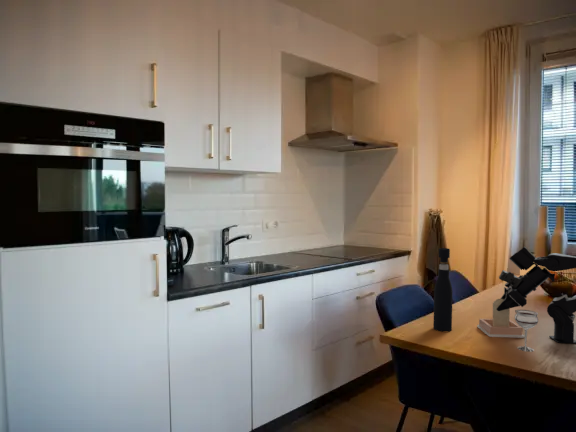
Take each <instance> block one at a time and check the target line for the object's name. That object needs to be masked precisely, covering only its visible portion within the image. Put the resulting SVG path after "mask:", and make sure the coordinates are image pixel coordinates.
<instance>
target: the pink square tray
mask: <svg viewBox="0 0 576 432" xmlns="http://www.w3.org/2000/svg"><path fill="white" fill-rule="evenodd" d="M478 320H479V321H478V324H477V326H476V327H477V328H478V329H479V330H480V331H482V332H483V333H484V334H485V335H487V336H488V337H491V338H519V339H520V338H521V339H525V334H524V333H523V331H524V329H523V327H521V326H519V325H518V324H517V323H516V322H514V321H513V320H511V319H510V318H509V327H499V326H493V318H479V319H478Z"/></svg>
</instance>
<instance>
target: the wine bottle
mask: <svg viewBox="0 0 576 432" xmlns="http://www.w3.org/2000/svg"><path fill="white" fill-rule="evenodd" d="M450 253H451V249H450V248H448V247H445V248H444V247H441V248H438V258H440V261H439V265H438V266H439V267H438V273H437V274H438V275H437V279H436V281H435V285H434V289H433V329H434V330H435V331H437V330H438V332H443V331H448V332H451V331H452V329H453V328H452V326H453V295H454V294H453V287H452V282H451V279H450V269H449V264H448V261H449V260H448V259H450V256H451V255H450Z"/></svg>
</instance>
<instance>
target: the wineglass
mask: <svg viewBox="0 0 576 432" xmlns="http://www.w3.org/2000/svg"><path fill="white" fill-rule="evenodd" d="M514 312H515V314H514V321H515V323H516V324H517V325H519V326H520V327H522V328H523V330H524V335H525V338H524V345H521V346H517V347H516V349H518V350H519V351H523V352H534V351H535V349H534V348H532V347H529V346H527V339H528V338H527V337H528V331H529V330H530V329H533V328H534V327H535V326H537V325H538V323H539V317H538V315H539V313H538V312H537V311H534V310H529V309H515V310H514Z"/></svg>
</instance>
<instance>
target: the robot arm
mask: <svg viewBox="0 0 576 432" xmlns="http://www.w3.org/2000/svg"><path fill="white" fill-rule="evenodd" d="M509 260H510V261H511V262H512V263H513V264H514V265H515V266H516V267H517V268H518V269H519V270H521V271H522V270H524V271H527V272H525V274H523V275H522V274H520V275H519V276H516V275H515V273H512V272H511V271H506V270H504V269H503V270H502V271H501V273H500V275H499V276H498V279H499V280H500V281H502V282H505V284H504V286H505V287H504V288H503V291H504V293H503V294H502V296H501V297H500V298H499V299H503V302H502V303H501V304H500V305H499V306H498V307H497V311H502V310H506V309H509V308H510V309H514V308H517V307H521V308H523V307H525V306H526V305H527V304H528V303H527V301H528V300H527V298H528V295H529V294H531V292H533V291H534V292H535V291H537V288H538V287H540V286H541V285H542V284H543V283H544V282H546V281H547V280H548V279H550V281H552V282H555V277H556V273H551V272H561V271H566V270H567V271H568V270H573V269H576V256H575V255H569V254H564V253H556V252H554V253H553V252H552V253H549V254H548V255H547V256H535V254H533V253H532V252H531V251H530V250H529V249H528V247H526V246H523V247H522V248H521V249H519V250H518V251H516V252H514V254H513V255H511V256H510V257H509ZM532 266H533V267H532ZM541 267H544V268H541ZM530 268H531V269H530ZM528 270H529V271H528ZM546 311H547V314H548V315H549V317H551V318H552V320H553V323H554V324H553V325H554V326H553V335H549V338H550V339H552V340H553V341H554V342H556V343H559V344H576V340H575V339H574V337H575V336H574V335H575V324H574V320H575V318H576V314H574V313H576V297H568V295H567V294H563V295H561V296H558V297H554V298H553V300H552V301H550V303H549V304H548V306H547V308H546Z"/></svg>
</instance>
